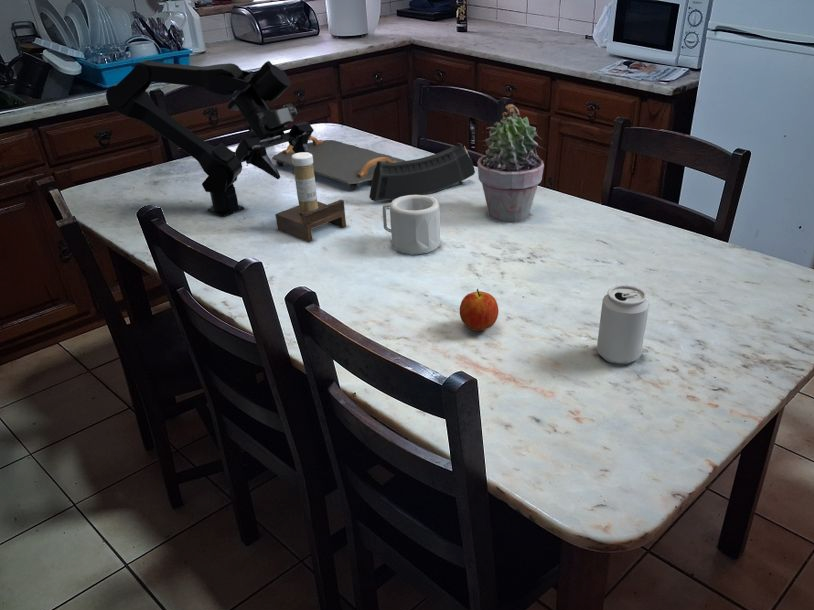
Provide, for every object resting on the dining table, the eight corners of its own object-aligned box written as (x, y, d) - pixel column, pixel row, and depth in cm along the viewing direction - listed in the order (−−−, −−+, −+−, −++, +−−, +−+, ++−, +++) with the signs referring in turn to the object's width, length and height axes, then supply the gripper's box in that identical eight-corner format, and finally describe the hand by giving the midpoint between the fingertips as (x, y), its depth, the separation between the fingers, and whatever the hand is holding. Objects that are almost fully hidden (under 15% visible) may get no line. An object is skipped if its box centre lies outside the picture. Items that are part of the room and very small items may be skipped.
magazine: (363, 173, 170) (462, 119, 178) (357, 169, 172) (455, 116, 181) (385, 231, 181) (477, 178, 190) (379, 227, 183) (470, 174, 192)
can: (591, 343, 123) (598, 282, 116) (633, 341, 123) (643, 281, 117) (602, 368, 116) (610, 305, 110) (646, 365, 117) (657, 303, 110)
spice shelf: (277, 230, 164) (273, 203, 160) (315, 215, 171) (312, 189, 168) (308, 242, 158) (305, 215, 154) (346, 226, 165) (343, 200, 162)
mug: (448, 240, 159) (447, 198, 153) (426, 259, 151) (424, 215, 145) (396, 230, 164) (394, 188, 158) (372, 247, 155) (368, 205, 150)
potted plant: (494, 237, 160) (497, 127, 146) (459, 208, 175) (459, 105, 161) (562, 225, 166) (571, 118, 153) (523, 197, 181) (528, 98, 168)
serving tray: (264, 165, 202) (261, 143, 199) (326, 146, 217) (323, 126, 214) (357, 196, 182) (355, 172, 178) (417, 173, 197) (416, 151, 193)
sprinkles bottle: (316, 207, 165) (309, 150, 158) (321, 213, 161) (314, 156, 154) (296, 210, 163) (289, 153, 156) (301, 217, 160) (294, 159, 152)
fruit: (501, 320, 129) (502, 282, 125) (493, 340, 124) (495, 300, 119) (464, 316, 131) (464, 277, 126) (455, 335, 125) (455, 295, 120)
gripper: (233, 100, 147) (274, 163, 147) (303, 85, 159) (341, 143, 159) (218, 131, 155) (257, 191, 155) (285, 114, 167) (321, 169, 168)
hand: (295, 172), depth 159 cm, fingers open, 9 cm apart
